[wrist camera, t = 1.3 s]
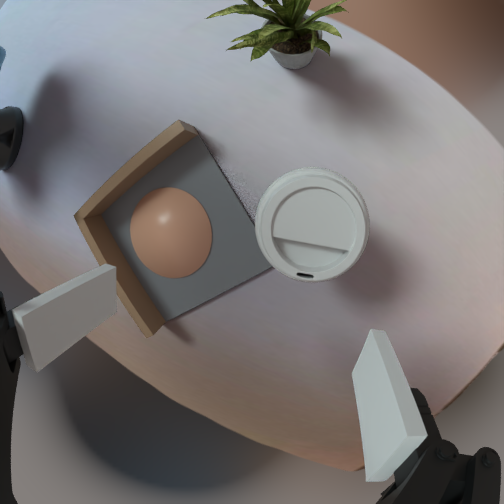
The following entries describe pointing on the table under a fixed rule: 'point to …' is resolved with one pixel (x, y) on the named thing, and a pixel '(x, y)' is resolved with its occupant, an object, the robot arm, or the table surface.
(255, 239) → the tray
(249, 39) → the house plant
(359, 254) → the coffee cup
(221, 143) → the table surface
